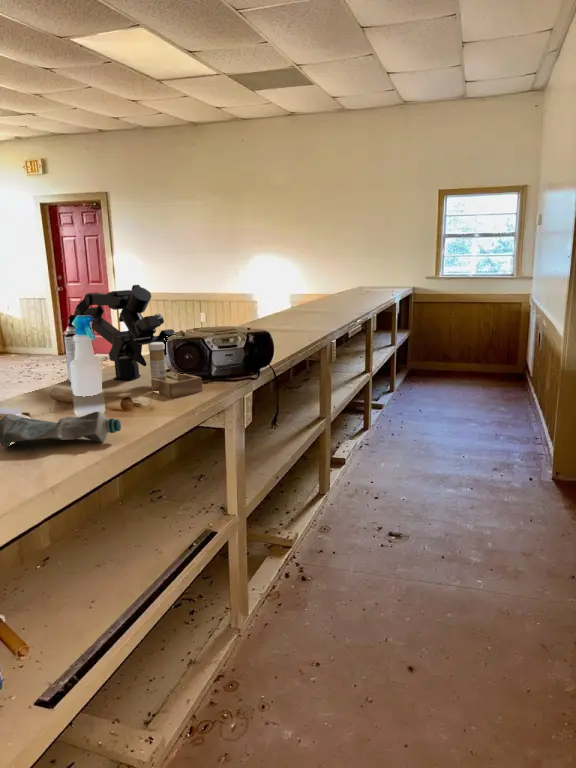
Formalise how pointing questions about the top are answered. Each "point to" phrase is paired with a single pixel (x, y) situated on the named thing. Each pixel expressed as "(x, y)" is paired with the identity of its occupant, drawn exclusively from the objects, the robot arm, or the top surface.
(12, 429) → the crushed plastic bottle
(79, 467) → the top surface
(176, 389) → the cradle
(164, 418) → the top surface
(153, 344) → the sprinkles bottle
